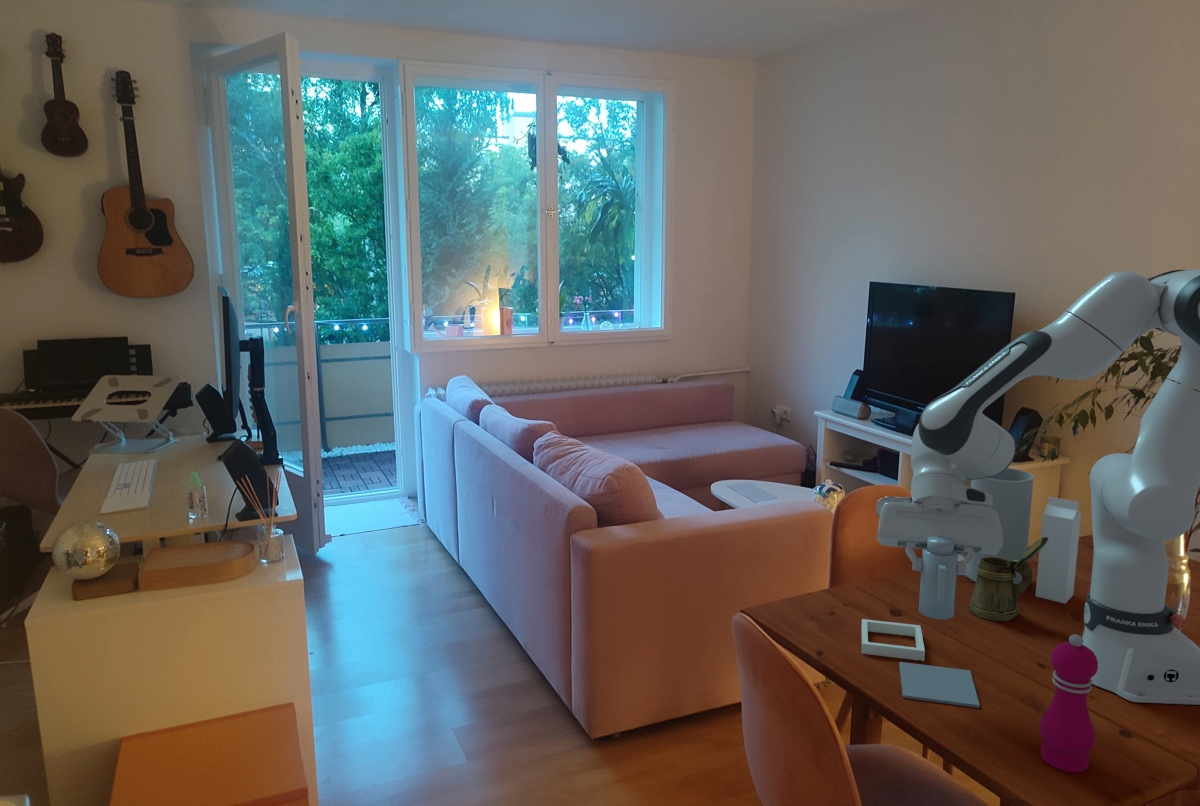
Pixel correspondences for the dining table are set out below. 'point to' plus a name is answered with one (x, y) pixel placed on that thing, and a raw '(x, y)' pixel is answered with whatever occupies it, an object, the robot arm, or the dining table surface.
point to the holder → (892, 650)
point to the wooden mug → (1001, 585)
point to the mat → (938, 684)
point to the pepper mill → (1069, 708)
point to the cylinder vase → (1007, 515)
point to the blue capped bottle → (938, 578)
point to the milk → (1058, 550)
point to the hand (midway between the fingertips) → (939, 571)
